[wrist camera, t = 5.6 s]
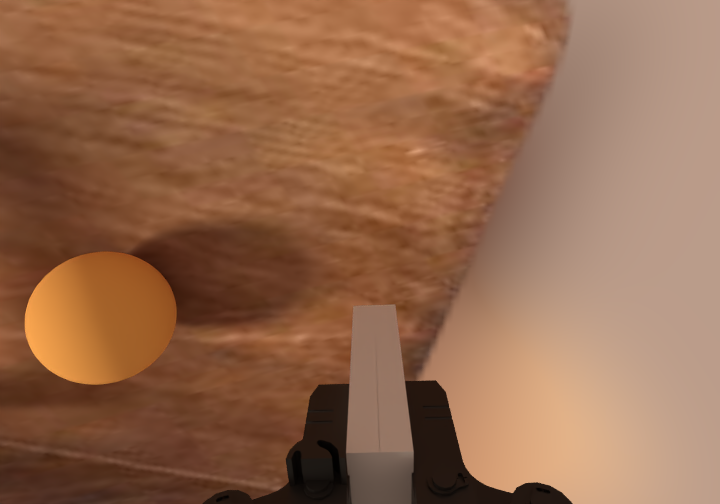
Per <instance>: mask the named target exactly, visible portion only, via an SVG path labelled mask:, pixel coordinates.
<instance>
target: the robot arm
mask: <svg viewBox="0 0 720 504" xmlns="http://www.w3.org/2000/svg"><path fill="white" fill-rule="evenodd" d="M286 464H287V471H288V478H289V483H288V484H287V485H286V486H284V487H283V488H281V489H280V490H278V491H276V492H274V493H271V494H269V495H266V496H263V497H260V498H257V499H253V500H252V499H251V498H250V496H249V495H248V494H246V493H244V492H241V491H239V490H227V491H224V492H220V493H217V494H215V495H214V496H212V497H211V498H209V499H208V500H206V501H205V502H204V503H203V504H572V503H571V501H570V500H569V499H568V498H567V497H566V496H565V495H564V494H563V493H562V492H560V491H558V490H556V489H555V488H553V487H551V486H549V485H545V484H541V483H525V484H523V485H521V486H519V487H517V488H516V490H515V491H514V493H509V492H505V491H502V490H498V489H495V488H492V487H489V486H486V485H484V484H483V483H481V482H479V481H478V480H476V479H475V478H474V477H473V476H472V475H471V474H470V473H469V472H468V470H467V469H466V468H465V465H464V463H463V460H462V456H461V452H460V448H459V444H458V440H457V436H456V432H455V428H454V424H453V420H452V416H451V412H450V408H449V404H448V400H447V395H446V392H445V391H444V389H442V387H441V386H440V385H439V384H438V383H437V381H405V379H404V371H403V363H402V355H401V347H400V339H399V331H398V323H397V315H396V307H395V305H368V306H353V325H352V345H351V365H350V384H327V385H318V387H317V388H316V389H315V391H314V392H313V393H312V395H311V396H310V400H309V406H308V413H307V418H306V424H305V430H304V436H303V440H301V441H299V442H297V443H296V444H295V445H294V446H293V447H292V448H291V449H290V451H289V453H288V455H287V458H286Z"/></svg>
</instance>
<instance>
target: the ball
mask: <svg viewBox="0 0 720 504" xmlns="http://www.w3.org/2000/svg"><path fill="white" fill-rule="evenodd" d="M176 318H177V308H176V302H175V297H174V294H173V292H172V289H171V287H170V285H169V284H168V282H167V281H166V279H165V278H164V277H163V276H162V274H161V273H160V272H159V271H158V270H157V269H155V268H154V267H153V266H152V265H150V264H148V263H147V262H145V261H143V260H141V259H139V258H137V257H135V256H132V255H129V254H125V253H118V252H106V251H103V252H94V253H88V254H84V255H80V256H77V257H74V258H72V259H69V260H68V261H66V262H64V263H62V264H60V265H59V266H57V267H56V268H54V269H53V270H52V271H51V272H49V273H48V274H47V275H46V276H45V277H44V278H43V279H42V281H41V282H40V283H39V284H38V285H37V286H36V288H35V290H34V292H33V293H32V295H31V297H30V299H29V302H28V305H27V309H26V313H25V333H26V337H27V340H28V343H29V346H30V348H31V350H32V352H33V353H34V355H35V356H36V358H37V359H38V360H39V361H40V362H41V363H42V364H43V365H44V366H45V367H46V368H47V369H49V370H50V371H51V372H53V373H54V374H56V375H58V376H60V377H62V378H64V379H67V380H70V381H73V382H77V383H82V384H98V385H99V384H108V383H113V382H118V381H121V380H124V379H127V378H130V377H132V376H134V375H136V374H138V373H139V372H141V371H143V370H144V369H146V368H147V367H149V366H150V365H151V364H152V363H153V362H154V361H155V360H156V359H157V358H158V357H159V356H160V355H161V354H162V353H163V351H164V350H165V349H166V347H167V345H168V343H169V342H170V340H171V338H172V335H173V332H174V329H175V325H176Z"/></svg>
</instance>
